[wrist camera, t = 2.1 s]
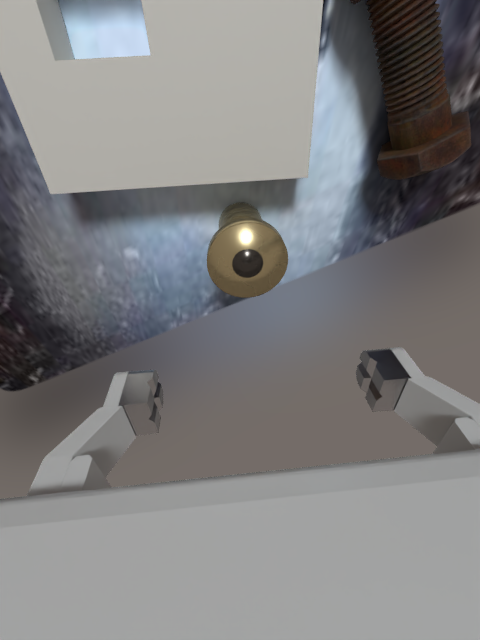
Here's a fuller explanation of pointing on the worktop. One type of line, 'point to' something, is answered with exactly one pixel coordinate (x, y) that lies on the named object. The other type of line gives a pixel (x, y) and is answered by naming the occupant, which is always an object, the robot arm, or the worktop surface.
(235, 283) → the bushing
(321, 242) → the worktop surface
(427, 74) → the bolt
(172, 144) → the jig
